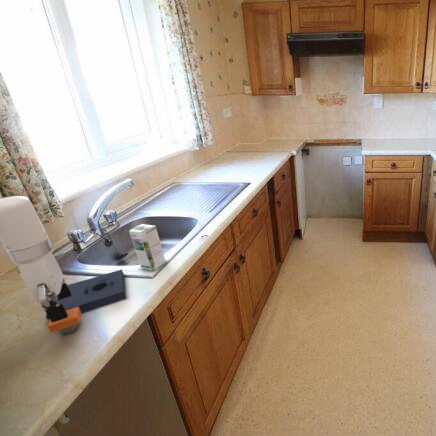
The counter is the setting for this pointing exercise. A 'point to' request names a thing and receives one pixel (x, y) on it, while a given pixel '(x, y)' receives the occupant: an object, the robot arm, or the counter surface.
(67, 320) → the top pad
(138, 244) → the syrup box
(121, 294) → the base pad
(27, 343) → the counter surface
